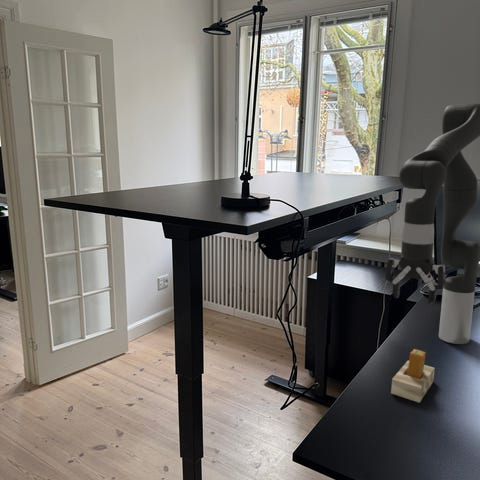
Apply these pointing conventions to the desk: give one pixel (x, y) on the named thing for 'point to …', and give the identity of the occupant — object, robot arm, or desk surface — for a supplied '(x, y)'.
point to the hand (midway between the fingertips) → (413, 300)
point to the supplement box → (416, 364)
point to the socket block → (412, 383)
